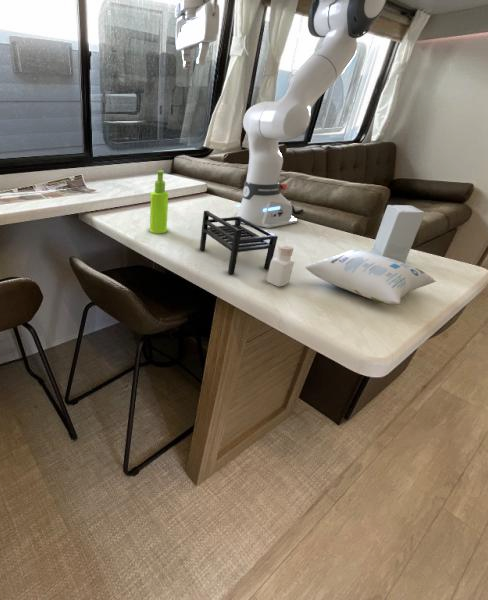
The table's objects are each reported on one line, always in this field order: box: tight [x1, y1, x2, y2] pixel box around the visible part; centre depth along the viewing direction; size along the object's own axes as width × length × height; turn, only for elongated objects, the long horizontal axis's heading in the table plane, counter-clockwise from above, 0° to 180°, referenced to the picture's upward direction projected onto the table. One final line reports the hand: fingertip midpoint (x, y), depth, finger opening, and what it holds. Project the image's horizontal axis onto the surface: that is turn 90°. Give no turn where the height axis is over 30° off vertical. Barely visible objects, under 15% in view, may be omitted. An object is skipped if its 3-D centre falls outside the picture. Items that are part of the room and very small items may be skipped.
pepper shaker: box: [266, 244, 295, 288], centre depth 78 cm, size 4×4×10 cm
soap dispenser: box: [149, 169, 169, 234], centre depth 110 cm, size 6×7×20 cm
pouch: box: [304, 249, 437, 305], centre depth 75 cm, size 8×19×20 cm
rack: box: [199, 210, 279, 276], centre depth 90 cm, size 12×18×12 cm, turn 15°
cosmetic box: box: [370, 204, 426, 264], centre depth 87 cm, size 8×6×15 cm
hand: (193, 67), depth 92 cm, fingers open, 8 cm apart
